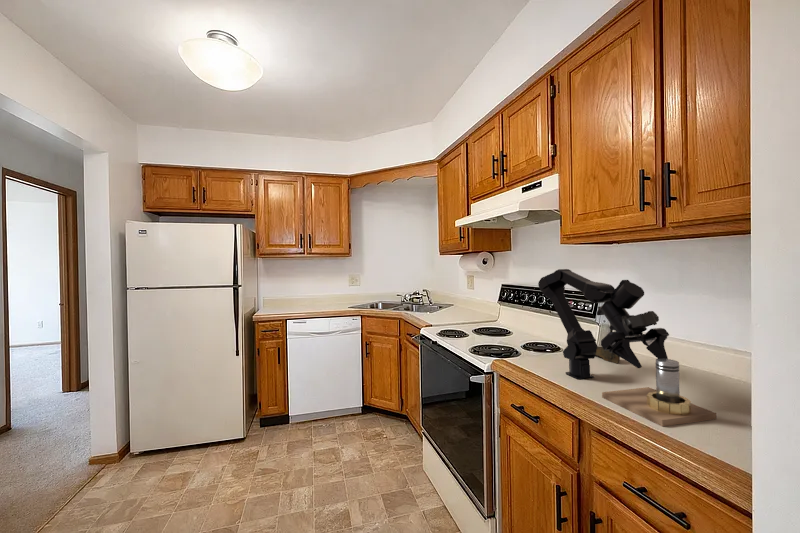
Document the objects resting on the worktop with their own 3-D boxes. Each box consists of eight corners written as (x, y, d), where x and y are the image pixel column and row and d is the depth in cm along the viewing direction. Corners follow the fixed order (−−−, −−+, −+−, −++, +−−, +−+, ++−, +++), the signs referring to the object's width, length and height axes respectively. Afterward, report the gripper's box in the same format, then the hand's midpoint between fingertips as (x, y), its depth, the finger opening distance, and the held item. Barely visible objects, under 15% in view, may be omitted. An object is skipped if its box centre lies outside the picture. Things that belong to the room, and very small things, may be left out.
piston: (653, 402, 95) (652, 358, 95) (674, 404, 93) (673, 359, 93) (661, 410, 90) (660, 363, 90) (683, 412, 89) (682, 364, 89)
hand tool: (574, 351, 157) (574, 338, 157) (584, 350, 158) (584, 337, 158) (611, 365, 135) (610, 351, 135) (622, 364, 135) (622, 350, 135)
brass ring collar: (639, 402, 95) (639, 393, 95) (666, 399, 97) (666, 390, 97) (670, 416, 86) (670, 406, 86) (699, 412, 88) (699, 402, 88)
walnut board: (602, 397, 103) (602, 392, 103) (648, 392, 106) (648, 387, 106) (662, 426, 85) (662, 420, 85) (716, 419, 88) (716, 412, 88)
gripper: (608, 303, 98) (644, 353, 87) (662, 300, 102) (703, 347, 92) (587, 326, 106) (618, 374, 95) (638, 322, 110) (673, 368, 99)
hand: (654, 365), depth 95 cm, fingers open, 9 cm apart
